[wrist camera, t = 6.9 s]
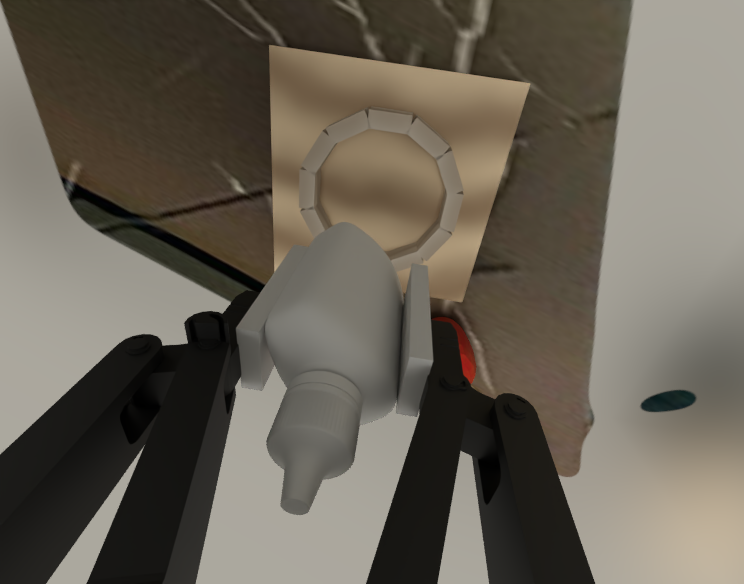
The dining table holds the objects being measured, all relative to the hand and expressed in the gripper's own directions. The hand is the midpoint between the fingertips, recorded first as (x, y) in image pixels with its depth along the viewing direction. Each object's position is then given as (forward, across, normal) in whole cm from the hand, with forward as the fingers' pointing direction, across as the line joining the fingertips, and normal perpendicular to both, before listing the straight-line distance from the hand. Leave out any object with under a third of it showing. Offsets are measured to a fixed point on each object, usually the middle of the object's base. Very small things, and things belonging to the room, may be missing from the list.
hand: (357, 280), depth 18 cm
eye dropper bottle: (+1, 0, 0) cm, 1 cm away
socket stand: (+16, 0, 0) cm, 16 cm away
